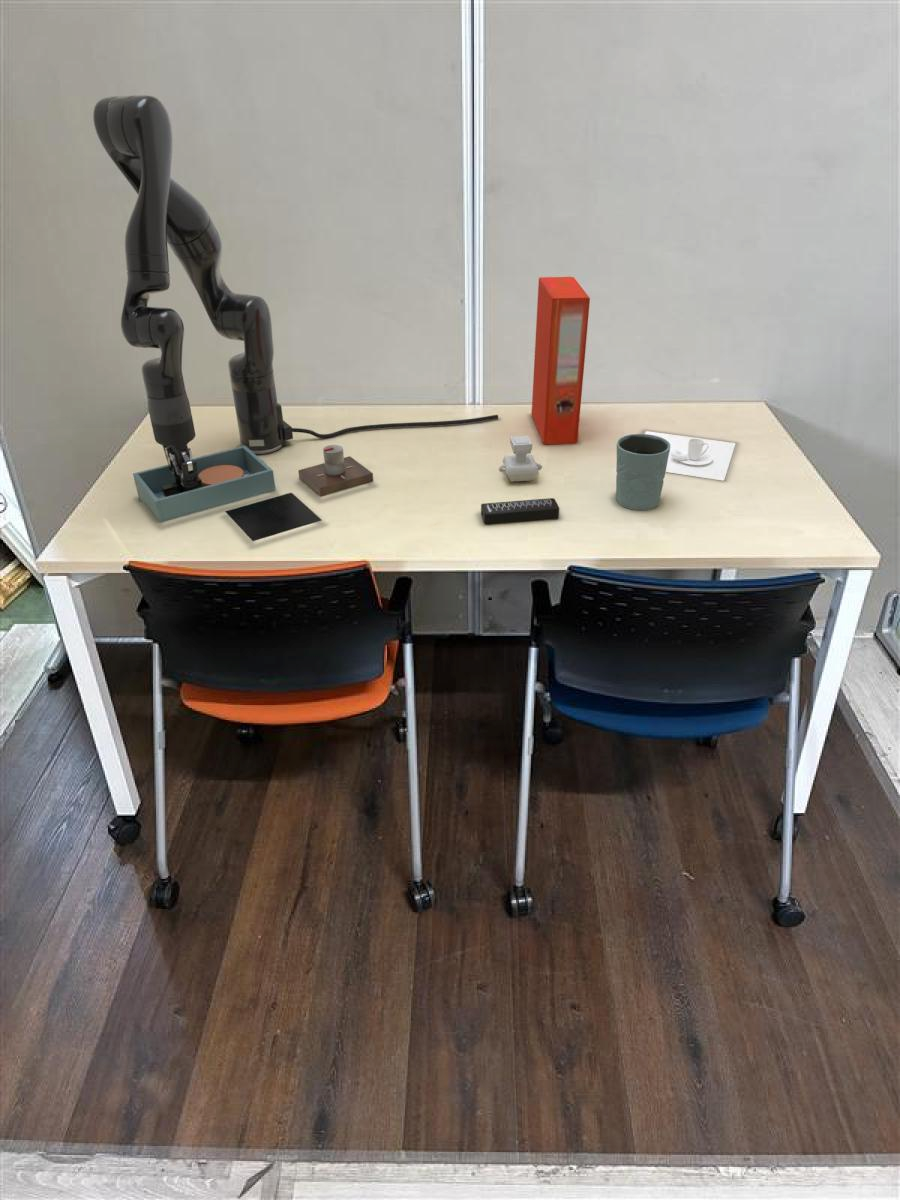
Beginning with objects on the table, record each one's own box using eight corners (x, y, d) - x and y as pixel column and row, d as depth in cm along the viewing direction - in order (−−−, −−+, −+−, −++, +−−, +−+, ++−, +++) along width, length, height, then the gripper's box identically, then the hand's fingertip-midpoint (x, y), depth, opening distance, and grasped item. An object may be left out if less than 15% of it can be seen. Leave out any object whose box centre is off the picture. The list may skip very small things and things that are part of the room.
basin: (248, 469, 184) (245, 445, 181) (276, 495, 174) (272, 470, 170) (138, 498, 173) (132, 473, 170) (161, 527, 163) (155, 501, 160)
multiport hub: (559, 518, 164) (559, 508, 162) (484, 525, 162) (484, 514, 161) (553, 508, 167) (554, 497, 166) (480, 513, 166) (480, 503, 164)
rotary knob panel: (351, 468, 183) (349, 455, 181) (373, 486, 176) (372, 472, 175) (299, 483, 178) (298, 469, 176) (321, 501, 171) (319, 487, 169)
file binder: (564, 414, 207) (573, 276, 189) (578, 443, 193) (590, 297, 175) (531, 415, 206) (537, 277, 188) (543, 444, 192) (550, 298, 174)
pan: (236, 476, 180) (233, 459, 177) (252, 492, 173) (249, 475, 171) (159, 496, 172) (155, 479, 170) (173, 514, 166) (169, 496, 164)
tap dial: (339, 465, 178) (337, 441, 175) (348, 472, 175) (346, 448, 172) (322, 470, 176) (319, 446, 173) (330, 477, 173) (328, 453, 170)
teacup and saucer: (667, 463, 183) (670, 445, 181) (674, 448, 189) (676, 431, 187) (709, 469, 180) (712, 451, 178) (715, 454, 187) (718, 437, 184)
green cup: (631, 516, 164) (638, 458, 157) (600, 495, 172) (605, 439, 165) (673, 504, 168) (682, 447, 161) (641, 484, 175) (648, 429, 169)
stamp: (500, 486, 176) (501, 447, 171) (496, 472, 181) (497, 434, 176) (544, 483, 176) (546, 445, 171) (538, 469, 182) (540, 432, 177)
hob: (292, 497, 173) (291, 492, 172) (322, 525, 163) (322, 520, 162) (225, 516, 166) (224, 511, 166) (253, 546, 157) (252, 541, 156)
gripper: (203, 423, 158) (218, 506, 168) (178, 400, 168) (194, 479, 178) (163, 432, 155) (181, 516, 164) (139, 408, 165) (158, 489, 174)
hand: (187, 496), depth 171 cm, fingers open, 4 cm apart
